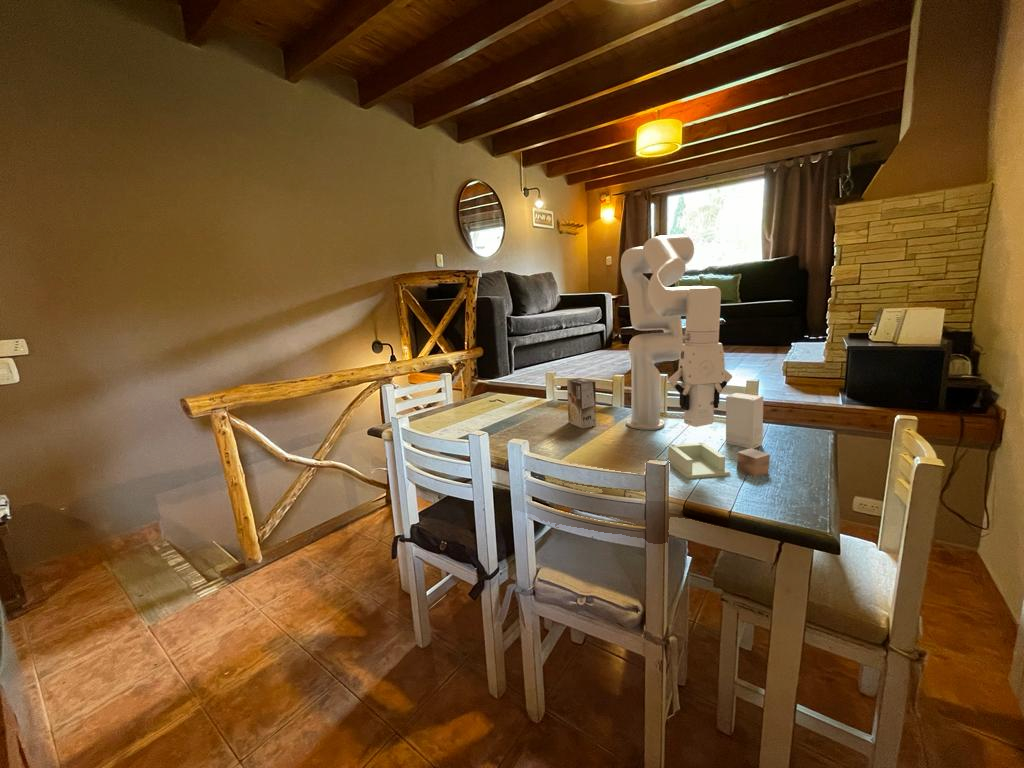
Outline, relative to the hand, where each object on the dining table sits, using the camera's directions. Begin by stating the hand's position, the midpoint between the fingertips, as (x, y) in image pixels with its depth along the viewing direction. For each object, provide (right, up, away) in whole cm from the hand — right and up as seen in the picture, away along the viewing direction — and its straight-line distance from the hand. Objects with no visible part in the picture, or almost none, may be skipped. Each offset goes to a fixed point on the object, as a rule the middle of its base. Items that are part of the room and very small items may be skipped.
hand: (699, 407), depth 107 cm
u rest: (+1, -16, +4) cm, 16 cm away
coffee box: (-22, -9, +44) cm, 50 cm away
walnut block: (+13, -16, -1) cm, 21 cm away
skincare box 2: (+21, -12, +18) cm, 30 cm away
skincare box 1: (0, -4, +1) cm, 4 cm away
